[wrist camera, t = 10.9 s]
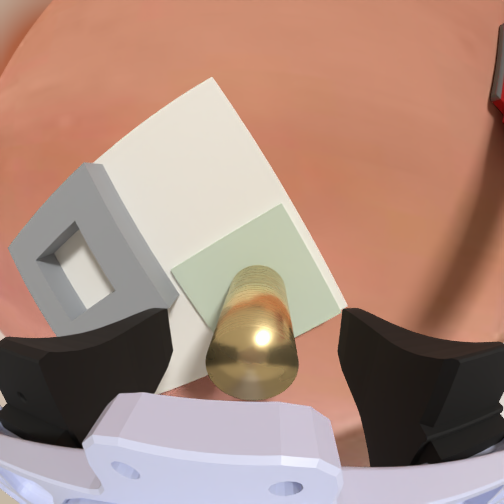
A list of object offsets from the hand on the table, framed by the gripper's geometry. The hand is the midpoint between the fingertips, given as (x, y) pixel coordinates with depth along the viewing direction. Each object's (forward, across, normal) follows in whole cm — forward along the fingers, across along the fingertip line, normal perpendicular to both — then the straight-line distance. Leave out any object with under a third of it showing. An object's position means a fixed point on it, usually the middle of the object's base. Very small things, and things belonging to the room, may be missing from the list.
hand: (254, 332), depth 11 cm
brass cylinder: (+4, 0, 0) cm, 4 cm away
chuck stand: (+6, +6, -1) cm, 8 cm away
